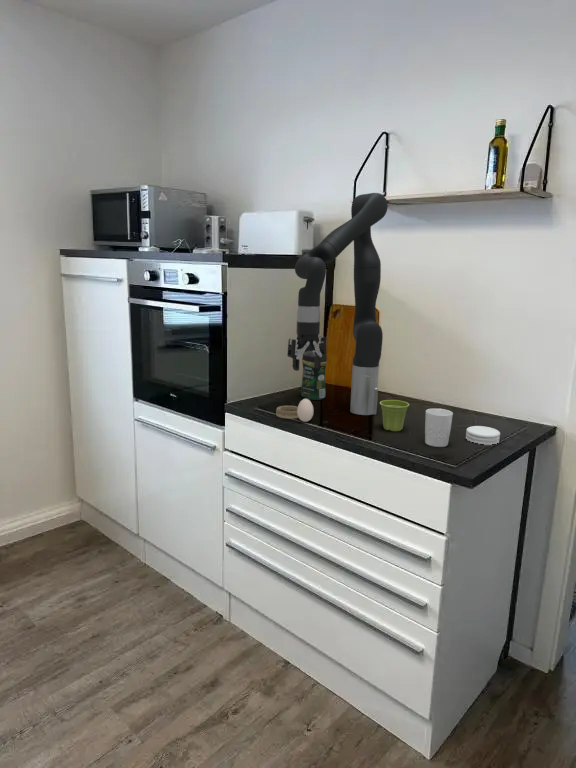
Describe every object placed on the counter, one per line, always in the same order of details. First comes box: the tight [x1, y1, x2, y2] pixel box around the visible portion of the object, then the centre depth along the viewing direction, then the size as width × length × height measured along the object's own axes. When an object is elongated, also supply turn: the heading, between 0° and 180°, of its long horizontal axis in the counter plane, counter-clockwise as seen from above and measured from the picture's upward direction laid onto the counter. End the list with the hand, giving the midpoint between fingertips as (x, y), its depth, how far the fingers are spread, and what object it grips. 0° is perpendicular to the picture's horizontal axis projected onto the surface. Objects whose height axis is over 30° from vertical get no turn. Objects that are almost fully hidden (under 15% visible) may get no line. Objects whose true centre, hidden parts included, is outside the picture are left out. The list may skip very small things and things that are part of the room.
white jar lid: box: [465, 425, 501, 446], centre depth 176 cm, size 10×10×4 cm
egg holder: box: [275, 405, 299, 420], centre depth 197 cm, size 9×9×2 cm
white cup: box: [424, 408, 454, 448], centre depth 170 cm, size 8×8×10 cm
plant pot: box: [379, 399, 410, 432], centre depth 184 cm, size 9×9×9 cm
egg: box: [297, 398, 314, 423], centre depth 189 cm, size 6×6×8 cm
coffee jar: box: [300, 351, 328, 401], centre depth 221 cm, size 10×8×19 cm
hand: (306, 369), depth 186 cm, fingers open, 8 cm apart
